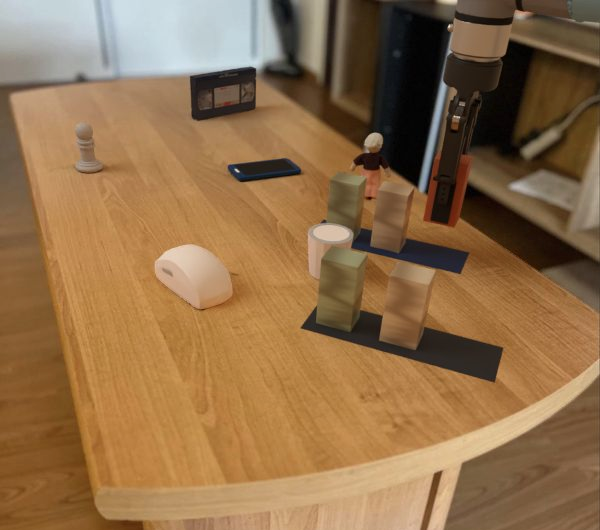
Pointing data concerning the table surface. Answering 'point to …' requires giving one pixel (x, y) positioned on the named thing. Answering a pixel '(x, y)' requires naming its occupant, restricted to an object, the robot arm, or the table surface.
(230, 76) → the vhs cassette tape
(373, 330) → the mat
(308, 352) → the table surface
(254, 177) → the cell phone
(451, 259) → the word mat far
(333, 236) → the pale pink cylinder
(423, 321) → the near blocks
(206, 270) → the computer mouse
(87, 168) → the chess piece
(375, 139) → the grandmother figurine
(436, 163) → the orange rectangular block
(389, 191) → the far blocks
